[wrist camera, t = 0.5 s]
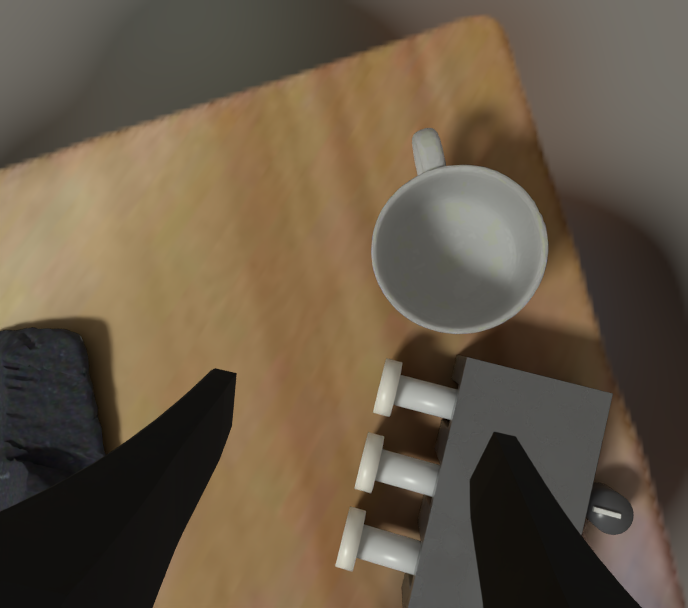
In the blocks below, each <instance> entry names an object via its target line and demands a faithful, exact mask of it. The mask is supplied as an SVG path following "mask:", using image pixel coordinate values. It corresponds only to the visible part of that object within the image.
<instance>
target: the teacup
mask: <svg viewBox="0 0 688 608" xmlns="http://www.w3.org/2000/svg"><path fill="white" fill-rule="evenodd" d="M412 146H413V153H414V159H415V165H416V169H417V174H418V176H416V177H415V178H413V179H412V180H410V181H409V182H407V183H406V184H404V185H403V186H402V187H400V188H399V189H398V190H397V191H396V193H395V194H394V195H393V196H392V197H390V199H389V200H388V202H387V203H386V205H385V206H384V207H383V209H382V211H381V213H380V215H379V217H378V219H377V222H376V225H375V228H374V232H373V237H372V248H371V254H372V264H373V270H374V273H375V277H376V279H377V282H378V284H379V286H380V288H381V290H382V292H383V293H384V295H385V296H386V298H387V299H388V301H389V302H390V303H391V304H392V305H393V306H394V307H395V309H397V310H398V311H399V312H400V313H401V314H402V315H404V316H405V317H406V318H408V319H409V320H411V321H412V322H414V323H416V324H418V325H420V326H422V327H425V328H428V329H431V330H434V331H438V332H444V333H451V334H467V333H475V332H481V331H484V330H487V329H490V328H493V327H495V326H498V325H500V324H502V323H504V322H506V321H507V320H509V319H510V318H512V317H513V316H515V315H516V314H517V313H518V312H519V311H520V310H521V309H522V308H523V307H524V306H525V305H526V304H527V303H528V301H529V300H530V299H531V297H532V296H533V295H534V293H535V291H536V289H537V288H538V286H539V284H540V282H541V280H542V278H543V275H544V271H545V268H546V264H547V256H548V240H547V231H546V226H545V223H544V221H543V217H542V215H541V214H540V213H539V210H538V208H537V206H536V204H535V202H534V201H533V200H532V199H531V197H530V195H529V194H528V193H527V192H526V191H525V190H524V189H523V188H522V187H521V186H520V185H519V184H517V183H516V182H514V181H513V180H512V179H510V178H509V177H508V176H506V175H504V174H502V173H500V172H498V171H495V170H492V169H489V168H487V167H481V166H474V165H454V166H446V163H445V158H444V153H443V148H442V145H441V141H440V138H439V136H438V133H437V132H436V131H435V130H434V129H433V128H425V129H422V130H420V131H418V132H416V133H415V134H414V135H413V138H412Z"/></svg>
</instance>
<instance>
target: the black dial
mask: <svg viewBox="0 0 688 608" xmlns="http://www.w3.org/2000/svg"><path fill="white" fill-rule="evenodd" d="M586 518H587V519H588V520H589V521H590V522H592V523H593V524H594V525H595V526H596V527H597V528H598V529H599V530H601V531H602V532H604V533H607V534H611V535H616V534H621V533H623V532H625V531H626V530H627V529H628V528H629V527H630V526H631V524H632V521H633V509H632V506H631V504H630V503H629V501H628V500H627V499H626V498H624V497H623V496H622V495H620V494H619V493H617V492H616V491H614V490H613V489H611V488H610V487H608V486H607V485H605V484H602V483H593V486H592V490H591V495H590V499H589V504H588V508H587V513H586Z"/></svg>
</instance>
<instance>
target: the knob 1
mask: <svg viewBox="0 0 688 608" xmlns="http://www.w3.org/2000/svg"><path fill="white" fill-rule="evenodd" d="M401 369H402V362H399V361H395V360H391V359H387V358H386V361H385V365H384V370H383V374H382V378H381V382H380V386H379V390H378V394H377V398H376V402H375V406H374V411H373V413H377V414H381V415H384V416H388V417H390V414H391V411H392V407H393V405H396V406H400V407H404V408H408V409H411V410H415V411H419V412H423V413H426V414H430V415H434V416H438V417H442V418H445V419H449V420H450V419H451V415H452V411H453V407H454V402H455V398H456V394H457V389H454V388H450V387H446V386H442V385H438V384H434V383H430V382H426V381H423V380H419V379H415V378H411V377H407V376H403V375H400V374H401Z"/></svg>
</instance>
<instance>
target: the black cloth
mask: <svg viewBox="0 0 688 608" xmlns="http://www.w3.org/2000/svg"><path fill="white" fill-rule="evenodd" d="M97 413H98V407H97V404H96V402H95V396H94V392H93V384H92V382H91V378H90V375H89V362H88V354H87V351H86V348H85V345H84V342H83V340H82V338H81V336H80V335H79V334H77V333H74V332H71V331H69V330H66V329H37V328H33V327H32V328H25V329H22V330H16V331H15V330H14V331H12V330H4V331H0V511H2V510H4V509H6V508H9V507H11V506H13V505H15V504H17V503H19V502H21V501H23V500H25V499H27V498H29V497H31V496H33V495H35V494H37V493H39V492H41V491H44V490H46V489H48V488H50V487H52V486H53V485H55V484H57V483H59V482H61V481H63V480H65V479H66V478H68V477H70V476H72V475H73V474H75V473H77V472H79V471H80V470H82V469H84V468H85V467H87V466H89V465H91V464H92V463H94V462H96V461H97V460H99V459H100V458H102V457H103V456H105V455H106V454H105V452H104V447H103V442H102V427H101V424H100V423H99V418H98V415H97Z"/></svg>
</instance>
